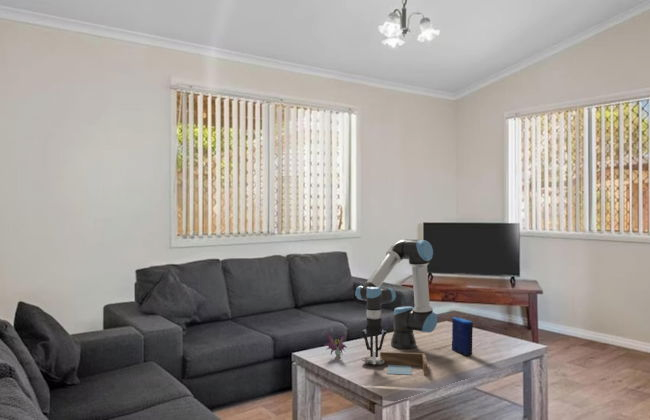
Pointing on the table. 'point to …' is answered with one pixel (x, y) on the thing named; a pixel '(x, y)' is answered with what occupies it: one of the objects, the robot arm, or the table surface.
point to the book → (462, 336)
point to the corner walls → (405, 359)
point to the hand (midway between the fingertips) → (374, 363)
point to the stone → (370, 361)
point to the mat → (399, 369)
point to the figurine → (336, 345)
